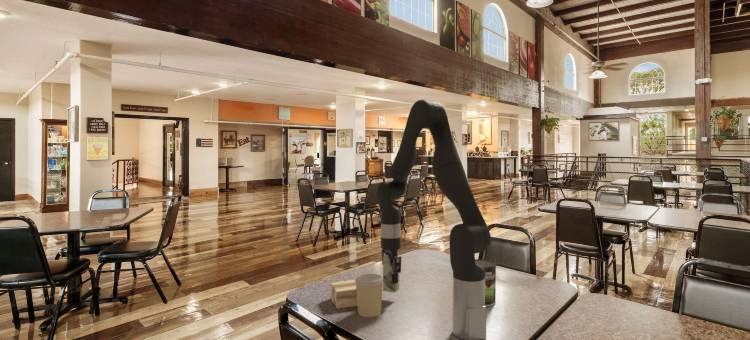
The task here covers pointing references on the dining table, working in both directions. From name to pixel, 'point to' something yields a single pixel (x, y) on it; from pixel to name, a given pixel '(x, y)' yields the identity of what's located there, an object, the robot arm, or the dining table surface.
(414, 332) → the dining table surface
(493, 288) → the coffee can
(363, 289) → the coffee cup
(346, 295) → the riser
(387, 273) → the box
